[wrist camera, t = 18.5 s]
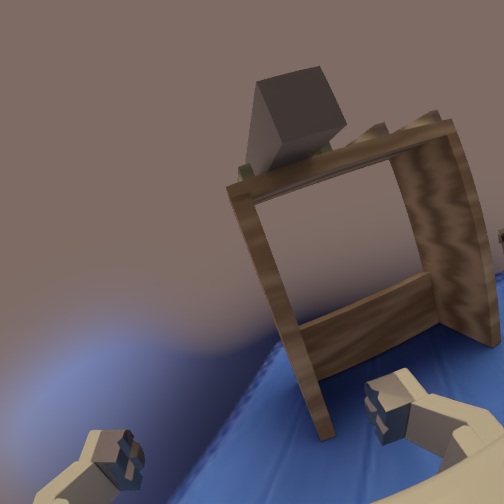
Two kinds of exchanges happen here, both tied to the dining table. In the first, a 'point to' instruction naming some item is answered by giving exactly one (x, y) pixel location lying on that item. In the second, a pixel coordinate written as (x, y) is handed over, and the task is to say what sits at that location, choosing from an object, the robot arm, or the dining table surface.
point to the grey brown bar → (291, 119)
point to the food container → (501, 237)
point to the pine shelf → (404, 293)
